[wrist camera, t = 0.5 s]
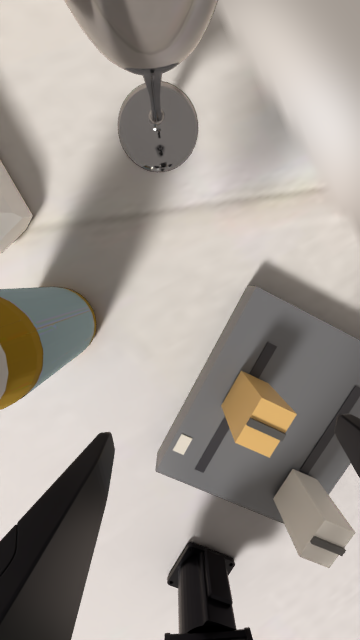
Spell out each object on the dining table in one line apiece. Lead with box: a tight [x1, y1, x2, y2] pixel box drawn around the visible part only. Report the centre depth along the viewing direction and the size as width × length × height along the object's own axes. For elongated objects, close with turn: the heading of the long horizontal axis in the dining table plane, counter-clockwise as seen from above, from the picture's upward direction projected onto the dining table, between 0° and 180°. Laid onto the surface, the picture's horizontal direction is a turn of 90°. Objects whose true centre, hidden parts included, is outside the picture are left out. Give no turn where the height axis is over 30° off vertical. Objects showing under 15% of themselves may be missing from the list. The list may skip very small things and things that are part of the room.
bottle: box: [0, 287, 96, 410], centre depth 15 cm, size 7×7×15 cm
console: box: [156, 286, 360, 523], centre depth 24 cm, size 21×18×3 cm
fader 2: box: [273, 469, 355, 568], centre depth 21 cm, size 4×3×5 cm
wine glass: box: [64, 0, 218, 172], centre depth 13 cm, size 8×8×15 cm
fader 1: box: [221, 371, 297, 458], centre depth 19 cm, size 4×3×5 cm
